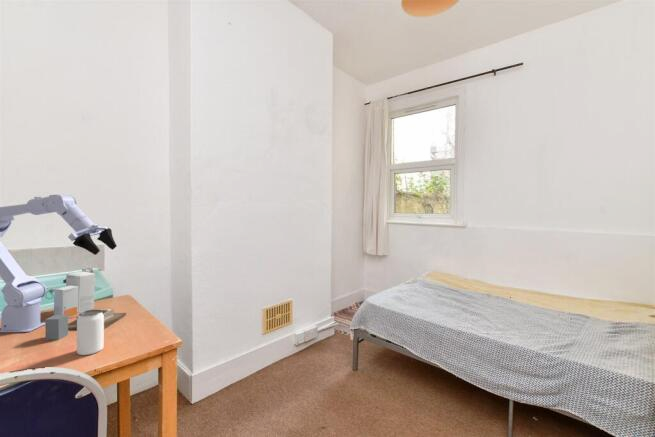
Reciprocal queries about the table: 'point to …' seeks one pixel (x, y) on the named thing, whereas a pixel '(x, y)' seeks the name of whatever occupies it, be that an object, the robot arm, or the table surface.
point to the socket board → (108, 318)
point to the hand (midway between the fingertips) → (106, 250)
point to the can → (90, 332)
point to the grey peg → (56, 327)
